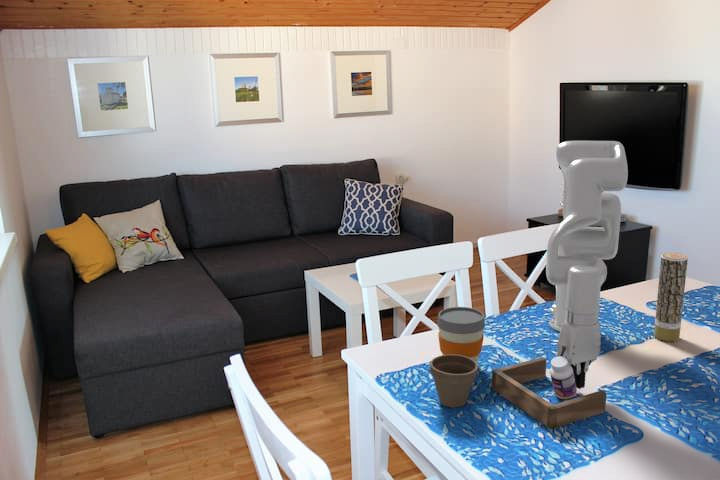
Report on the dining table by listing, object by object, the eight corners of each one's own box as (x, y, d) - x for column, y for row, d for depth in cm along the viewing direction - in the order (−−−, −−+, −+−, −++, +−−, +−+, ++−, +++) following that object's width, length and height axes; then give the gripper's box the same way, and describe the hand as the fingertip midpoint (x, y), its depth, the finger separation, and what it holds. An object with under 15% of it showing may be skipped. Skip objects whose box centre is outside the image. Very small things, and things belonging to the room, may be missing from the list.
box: (491, 388, 166) (492, 370, 165) (541, 374, 173) (542, 356, 172) (551, 429, 147) (552, 409, 146) (605, 412, 154) (606, 392, 152)
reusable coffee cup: (427, 368, 178) (427, 316, 174) (454, 352, 187) (455, 303, 183) (466, 382, 170) (467, 327, 166) (493, 365, 179) (494, 313, 175)
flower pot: (481, 393, 164) (481, 356, 161) (473, 416, 154) (474, 377, 151) (435, 387, 168) (435, 351, 165) (425, 409, 157) (424, 370, 155)
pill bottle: (550, 390, 164) (543, 360, 160) (569, 381, 164) (562, 351, 160) (562, 403, 159) (555, 372, 155) (581, 393, 160) (575, 362, 155)
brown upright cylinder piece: (681, 343, 189) (690, 259, 183) (656, 341, 190) (664, 259, 184) (675, 333, 196) (684, 252, 189) (651, 332, 197) (658, 252, 190)
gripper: (593, 306, 165) (588, 373, 169) (546, 317, 158) (543, 386, 163) (616, 315, 158) (611, 385, 163) (569, 327, 152) (565, 399, 157)
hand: (577, 385), depth 163 cm, fingers closed
